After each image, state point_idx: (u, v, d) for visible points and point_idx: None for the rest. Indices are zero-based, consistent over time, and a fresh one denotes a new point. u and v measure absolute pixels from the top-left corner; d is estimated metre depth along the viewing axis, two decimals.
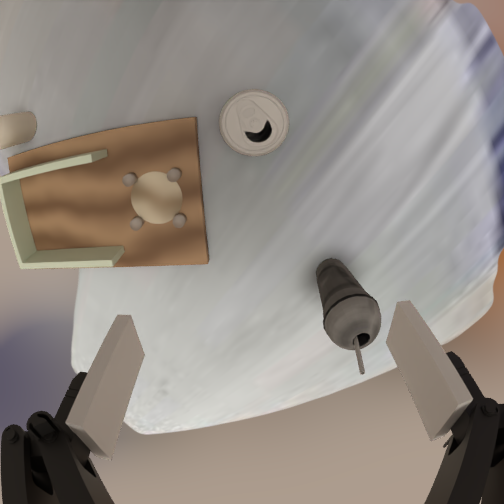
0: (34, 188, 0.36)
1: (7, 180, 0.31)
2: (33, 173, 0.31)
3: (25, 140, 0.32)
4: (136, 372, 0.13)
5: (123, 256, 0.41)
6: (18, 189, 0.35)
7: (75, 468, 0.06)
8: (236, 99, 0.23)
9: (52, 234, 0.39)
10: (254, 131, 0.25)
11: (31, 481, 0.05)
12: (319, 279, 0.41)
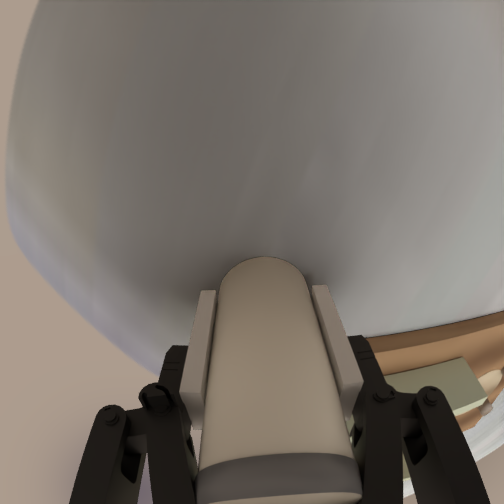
0: None
1: None
2: None
3: None
4: None
5: None
6: None
7: (182, 448, 0.07)
8: None
9: None
10: None
11: (118, 470, 0.07)
12: None
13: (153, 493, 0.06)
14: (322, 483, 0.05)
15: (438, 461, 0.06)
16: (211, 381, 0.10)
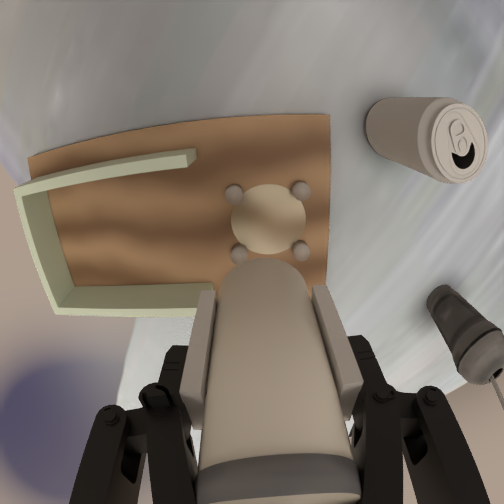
0: (71, 202, 0.27)
1: (31, 191, 0.22)
2: (77, 181, 0.22)
3: None
4: None
5: None
6: (45, 203, 0.26)
7: (182, 448, 0.07)
8: (446, 109, 0.14)
9: (99, 266, 0.31)
10: (460, 154, 0.16)
11: (118, 470, 0.07)
12: (437, 310, 0.32)
13: (153, 493, 0.06)
14: (321, 483, 0.05)
15: (438, 461, 0.06)
16: (211, 382, 0.10)
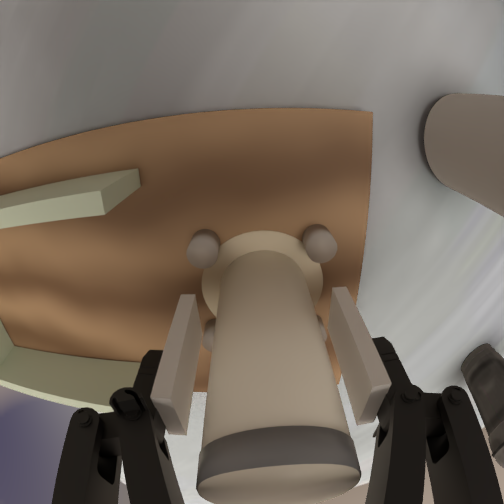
0: None
1: None
2: None
3: None
4: (198, 350, 0.15)
5: None
6: None
7: (154, 451, 0.07)
8: None
9: (35, 328, 0.20)
10: None
11: (95, 470, 0.06)
12: (476, 379, 0.21)
13: (130, 496, 0.06)
14: (319, 454, 0.06)
15: (458, 459, 0.06)
16: (214, 364, 0.11)
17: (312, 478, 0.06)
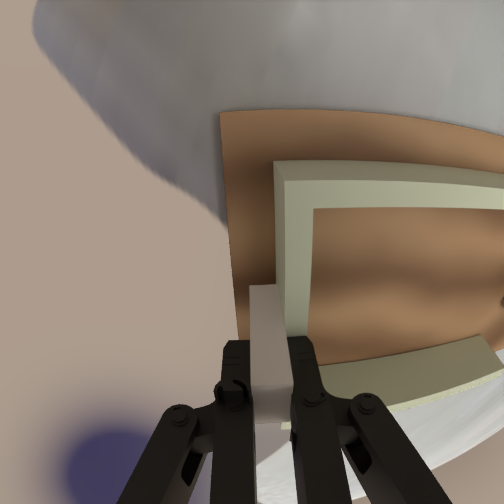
0: (329, 227, 0.15)
1: (358, 201, 0.10)
2: (476, 203, 0.10)
3: None
4: None
5: None
6: None
7: (250, 446, 0.07)
8: None
9: (343, 336, 0.19)
10: None
11: (178, 473, 0.07)
12: None
13: (212, 489, 0.06)
14: None
15: (385, 472, 0.06)
16: None
17: None
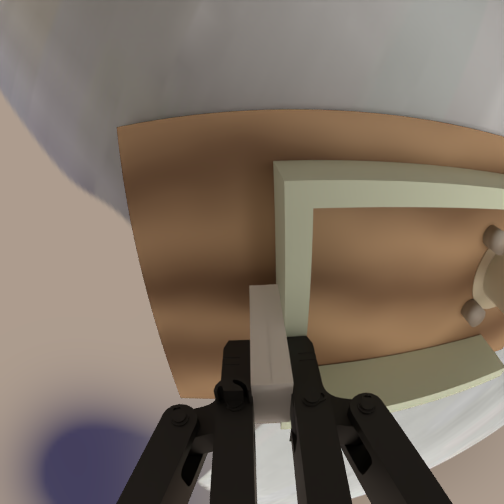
0: (229, 231, 0.15)
1: (358, 201, 0.10)
2: (475, 203, 0.10)
3: None
4: None
5: None
6: None
7: (250, 446, 0.07)
8: None
9: None
10: None
11: (179, 473, 0.07)
12: None
13: (212, 489, 0.06)
14: None
15: (385, 472, 0.06)
16: None
17: None
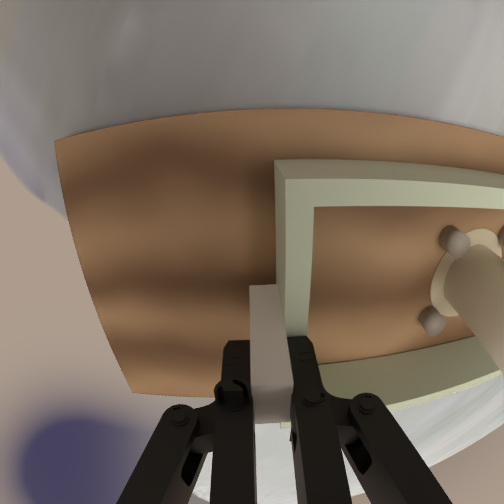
0: (152, 234, 0.16)
1: (359, 199, 0.10)
2: (475, 203, 0.10)
3: None
4: None
5: None
6: None
7: (250, 446, 0.07)
8: None
9: (200, 343, 0.19)
10: None
11: (178, 473, 0.07)
12: None
13: (212, 489, 0.06)
14: None
15: (385, 472, 0.06)
16: None
17: None
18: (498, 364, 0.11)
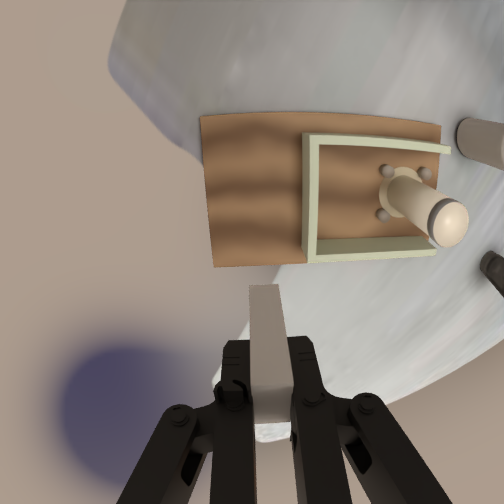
0: (247, 162, 0.35)
1: (334, 142, 0.29)
2: (383, 145, 0.29)
3: None
4: None
5: None
6: None
7: (250, 446, 0.07)
8: None
9: (263, 223, 0.38)
10: None
11: (178, 473, 0.07)
12: (490, 267, 0.40)
13: (212, 489, 0.06)
14: None
15: (385, 471, 0.06)
16: (415, 198, 0.29)
17: (459, 212, 0.25)
18: (413, 221, 0.30)
